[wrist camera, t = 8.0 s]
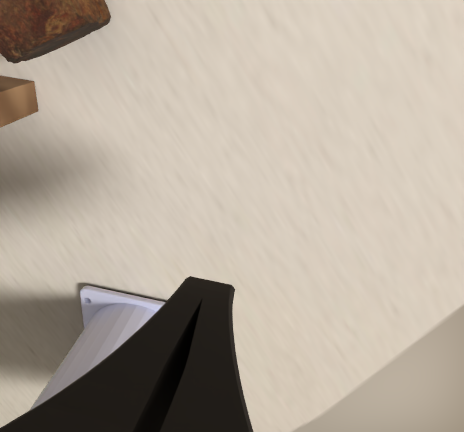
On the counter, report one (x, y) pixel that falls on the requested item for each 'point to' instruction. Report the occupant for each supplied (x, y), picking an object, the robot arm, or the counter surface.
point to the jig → (16, 99)
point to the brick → (46, 25)
